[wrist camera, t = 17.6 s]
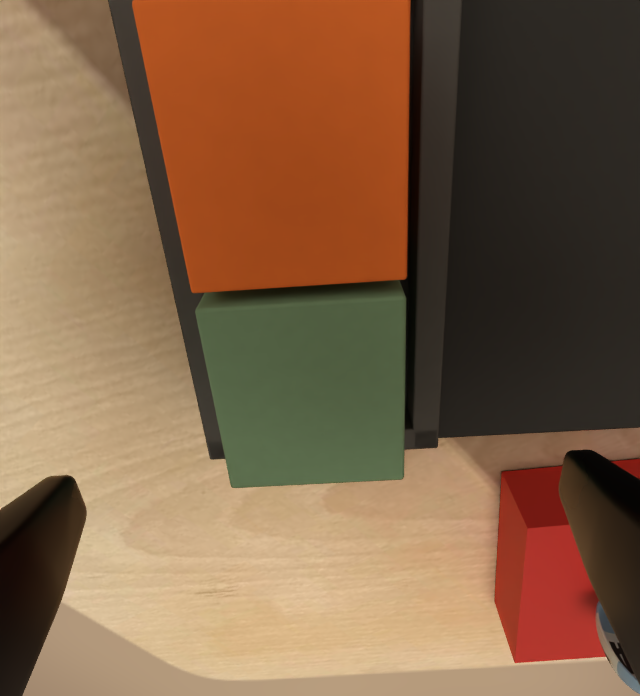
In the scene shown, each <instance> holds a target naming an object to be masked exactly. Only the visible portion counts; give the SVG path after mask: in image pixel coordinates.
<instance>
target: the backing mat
mask: <svg viewBox="0 0 640 696" xmlns="http://www.w3.org/2000/svg"><path fill="white" fill-rule="evenodd" d="M132 1H133V0H108V2H109V7H110V11H111V16H112V20H113V25H114V29H115V33H116V38H117V42H118V47H119V51H120V56H121V60H122V65H123V69H124V74H125V78H126V83H127V87H128V92H129V96H130V101H131V105H132V110H133V114H134V119H135V123H136V128H137V132H138V137H139V141H140V146H141V150H142V155H143V159H144V164H145V168H146V173H147V177H148V182H149V186H150V191H151V195H152V200H153V204H154V209H155V213H156V217H157V222H158V226H159V231H160V235H161V240H162V244H163V249H164V253H165V258H166V262H167V267H168V271H169V276H170V280H171V285H172V289H173V294H174V298H175V303H176V307H177V312H178V316H179V321H180V325H181V330H182V334H183V339H184V343H185V348H186V352H187V357H188V361H189V366H190V370H191V375H192V379H193V384H194V388H195V393H196V397H197V401H198V406H199V410H200V415H201V419H202V424H203V428H204V433H205V437H206V442H207V447H208V451H209V456H210V459H225V454H224V450H223V445H222V440H221V435H220V430H219V425H218V420H217V416H216V411H215V406H214V401H213V396H212V391H211V386H210V382H209V377H208V372H207V367H206V362H205V357H204V353H203V348H202V343H201V338H200V333H199V328H198V323H197V319H196V314H195V311H196V308H197V306H198V304H199V302H200V301H201V299H202V297H203V295H204V293H192V291H191V288H190V283H189V278H188V274H187V269H186V264H185V259H184V254H183V249H182V245H181V240H180V235H179V230H178V225H177V220H176V215H175V211H174V206H173V201H172V196H171V191H170V186H169V182H168V177H167V172H166V167H165V162H164V157H163V153H162V148H161V143H160V138H159V133H158V128H157V123H156V119H155V114H154V109H153V104H152V99H151V94H150V90H149V85H148V80H147V75H146V70H145V65H144V61H143V56H142V51H141V46H140V41H139V36H138V31H137V27H136V22H135V17H134V12H133V7H132ZM399 281H400V283H401V286H402V289H403V291H404V294H405V297H406V360H405V439H404V450H405V449H424V448H437V447H438V438H447V437H466V436H485V435H504V434H523V433H542V432H561V431H580V430H599V429H619V428H638V427H640V0H411V2H410V82H409V162H408V242H407V277H406V279H404V280H399Z"/></svg>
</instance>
